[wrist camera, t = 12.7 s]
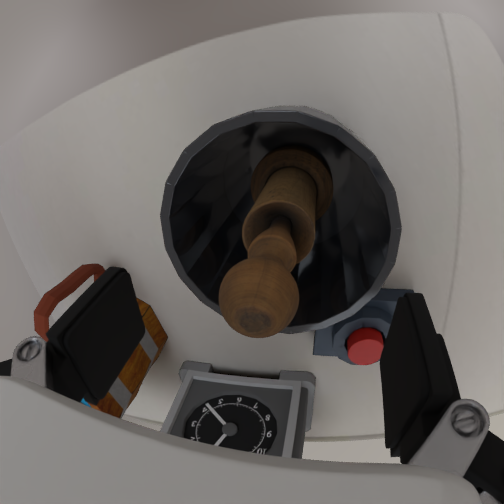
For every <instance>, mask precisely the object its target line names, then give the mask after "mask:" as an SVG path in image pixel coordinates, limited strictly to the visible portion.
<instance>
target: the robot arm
mask: <svg viewBox="0 0 504 504" xmlns="http://www.w3.org/2000/svg"><path fill="white" fill-rule="evenodd" d="M45 334H46V336H47V338H48V341H47V342H45V341H44V339H43V338H41V337H37V336H33V337H29V338H26V339H24V340H23V341H21V342H20V343H19V344H18V345H17V346H16V348H15V350H14V353H13V358H12V359H9V360H7V361H3V362H0V504H504V441H503V440H501V439H500V438H499V437H497V436H496V435H494V434H493V433H491V432H490V431H489V430H488V429H489V426H490V421H489V416H488V413H487V411H486V410H485V408H484V407H483V406H482V405H481V404H479V403H478V402H476V401H474V400H472V399H461V398H460V394H459V390H458V386H457V382H456V379H455V375H454V371H453V368H452V365H451V361H450V358H449V355H448V351H447V348H446V345H445V342H444V339H443V337H442V335H441V334H436V331H435V328H434V325H433V322H432V319H431V316H430V313H429V310H428V307H427V305H426V302H425V299H424V296H423V294H421V293H405V294H404V296H403V297H399V298H398V300H397V304H396V307H395V311H394V314H393V318H392V321H391V325H390V328H389V331H388V334H387V338H386V341H385V344H384V347H383V350H382V353H381V357H380V371H381V382H382V394H383V408H384V426H385V446H386V448H390V450H391V457H400V462H401V463H402V464H387V463H353V462H333V461H332V462H331V461H319V460H306V459H297V458H287V457H279V456H271V455H264V454H258V453H251V452H246V451H240V450H235V449H229V448H224V447H219V446H215V445H210V444H206V443H201V442H197V441H193V440H189V439H185V438H181V437H178V436H174V435H170V434H167V433H163V432H160V431H156V430H153V429H150V428H147V427H144V426H141V425H137V424H134V423H132V422H129V421H126V420H123V419H120V418H117V417H114V416H112V415H109V414H106V413H104V412H101V411H99V410H96V409H94V408H91V407H89V406H86V405H84V404H82V403H81V401H82V399H83V398H84V400H85V401H86V402H88V403H91V404H93V405H96V406H97V404H98V403H99V401H100V399H103V398H104V397H105V396H106V394H107V393H108V391H109V390H110V388H111V386H112V385H113V383H114V382H115V380H116V379H117V377H118V375H119V374H120V372H121V371H122V369H123V368H124V366H125V364H126V363H127V361H128V360H129V358H130V357H131V355H132V354H133V352H134V351H135V349H136V347H137V346H138V344H139V343H140V341H141V340H142V338H143V337H144V335H145V325H144V322H143V319H142V315H141V312H140V309H139V305H138V302H137V298H136V295H135V291H134V288H133V284H132V281H131V277H130V274H129V273H127V271H126V270H125V269H124V268H119V267H109V268H108V269H107V270H106V271H105V272H104V273H103V274H102V275H101V276H100V277H99V278H98V279H97V280H96V281H95V282H94V283H93V284H92V285H91V286H90V287H89V288H88V289H87V290H86V291H85V292H84V293H83V294H82V295H81V296H80V297H79V298H78V299H77V300H76V301H75V302H74V303H73V304H72V305H71V306H70V307H69V308H68V310H67V311H66V312H65V313H64V314H63V315H62V316H61V317H60V318H59V319H58V320H57V321H56V322H55V324H54V325H53V326H52V327H51V328H50V329H49V330H48V331H47V332H46V333H45Z"/></svg>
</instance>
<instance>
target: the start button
mask: <svg viewBox="0 0 504 504" xmlns="http://www.w3.org/2000/svg"><path fill="white" fill-rule="evenodd" d="M347 346H348V357H349V359H350V360H351V361H352V362H353V363H355V364H358V365H369V364H372V363H375V362H376V361H378V360H379V359H380V357H381V353H382V350H383V347H384V344H383V338H382V335H381V333H380V332H379V331H378V330H376V329H374V328H369V327H365V328H360V329H358V330H356V331H354V332H353V333H352V334H351V335H350V336H349V338H348V341H347Z"/></svg>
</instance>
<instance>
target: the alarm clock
mask: <svg viewBox="0 0 504 504" xmlns="http://www.w3.org/2000/svg"><path fill="white" fill-rule="evenodd" d="M179 376H180V378H181V381H182V384H181V387H180V389H179V391H178V393H177V395H176V397H175V400H174V402H173V404H172V406H171V408H170V410H169V413H168V415H167V417H166V419H165V421H164V424H163V426H162V428H161V430H160V432H163V433H167V434H170V435H174V436H178V437H181V438H185V439H189V440H193V441H197V442H201V443H206V444H210V445H215V446H219V447H224V448H229V449H235V450H240V451H246V452H251V453H258V454H264V455H271V456H279V457H287V458H297V459H302V453H303V445H304V437H305V432H306V431H309V430H310V429H311V421H312V412H313V402H314V391H315V379H316V377H315V376H314V375H313V374H312V373H309V372H299V371H281V372H280V378H279V380H277V379H263V378H252V377H242V376H232V375H224V374H216V373H213V369H212V365H211V364H207V363H199V362H192V361H185V362H184V363H183V365H182V367H181V369H180V371H179Z"/></svg>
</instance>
